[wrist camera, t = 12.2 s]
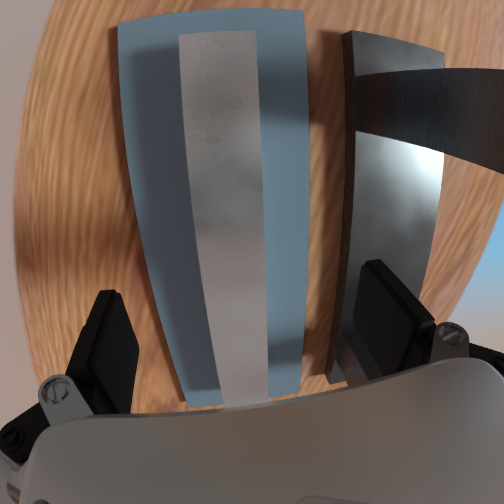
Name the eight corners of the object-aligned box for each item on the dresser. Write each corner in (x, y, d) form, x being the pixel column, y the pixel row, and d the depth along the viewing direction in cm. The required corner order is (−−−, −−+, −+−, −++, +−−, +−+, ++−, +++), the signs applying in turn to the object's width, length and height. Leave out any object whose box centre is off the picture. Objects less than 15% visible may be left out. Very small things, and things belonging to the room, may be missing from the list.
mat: (120, 26, 11) (117, 23, 10) (299, 13, 12) (303, 10, 11) (188, 401, 22) (188, 407, 22) (297, 387, 24) (299, 392, 23)
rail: (182, 47, 12) (178, 34, 9) (247, 43, 12) (255, 30, 10) (222, 388, 21) (226, 415, 19) (262, 383, 22) (268, 409, 20)
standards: (341, 34, 13) (507, -15, 3) (431, 54, 13) (583, 59, 4) (324, 374, 23) (373, 488, 14) (391, 356, 24) (451, 452, 14)
